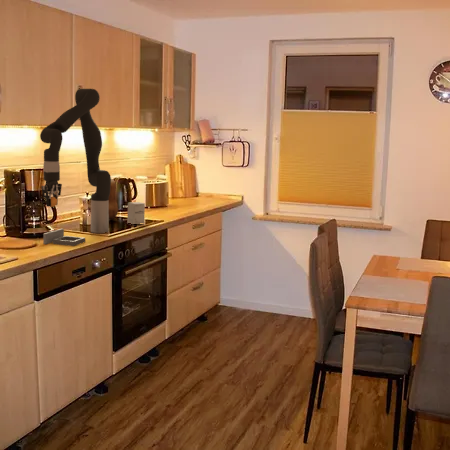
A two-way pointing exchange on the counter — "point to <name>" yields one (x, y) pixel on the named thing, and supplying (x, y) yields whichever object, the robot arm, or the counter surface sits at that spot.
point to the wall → (52, 235)
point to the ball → (53, 201)
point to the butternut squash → (112, 201)
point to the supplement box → (136, 212)
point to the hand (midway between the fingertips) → (51, 205)
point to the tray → (68, 240)
